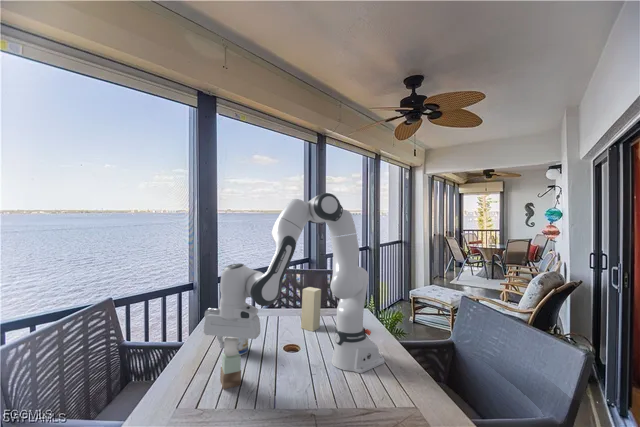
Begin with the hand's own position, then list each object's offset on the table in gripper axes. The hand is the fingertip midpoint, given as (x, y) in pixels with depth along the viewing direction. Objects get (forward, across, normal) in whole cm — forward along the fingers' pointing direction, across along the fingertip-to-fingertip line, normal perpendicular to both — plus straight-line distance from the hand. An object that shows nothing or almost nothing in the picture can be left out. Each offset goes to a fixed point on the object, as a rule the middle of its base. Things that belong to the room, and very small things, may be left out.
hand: (231, 348), depth 108 cm
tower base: (+12, 0, 0) cm, 12 cm away
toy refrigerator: (+13, +20, +57) cm, 61 cm away
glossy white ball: (+2, 0, 0) cm, 2 cm away
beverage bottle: (+12, -7, +23) cm, 27 cm away
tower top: (+7, 0, 0) cm, 7 cm away
